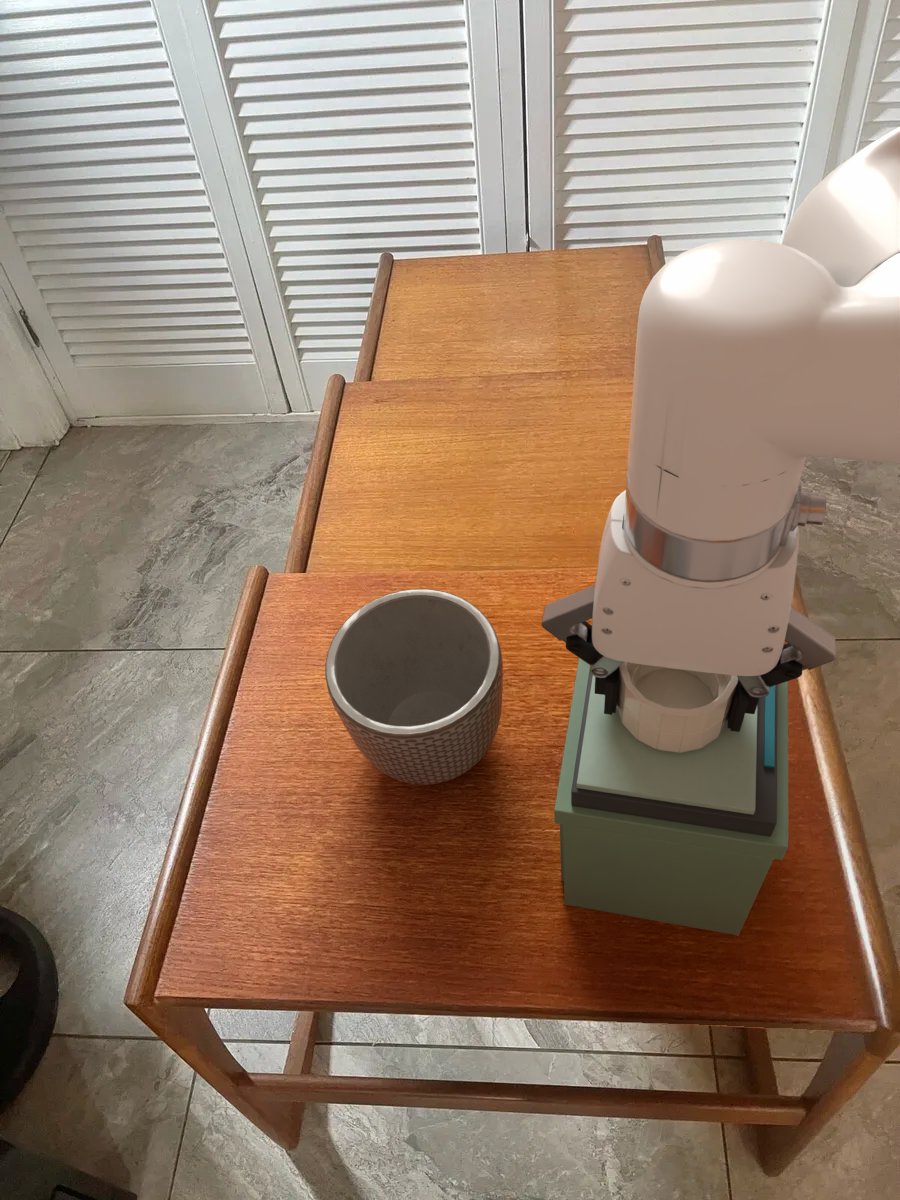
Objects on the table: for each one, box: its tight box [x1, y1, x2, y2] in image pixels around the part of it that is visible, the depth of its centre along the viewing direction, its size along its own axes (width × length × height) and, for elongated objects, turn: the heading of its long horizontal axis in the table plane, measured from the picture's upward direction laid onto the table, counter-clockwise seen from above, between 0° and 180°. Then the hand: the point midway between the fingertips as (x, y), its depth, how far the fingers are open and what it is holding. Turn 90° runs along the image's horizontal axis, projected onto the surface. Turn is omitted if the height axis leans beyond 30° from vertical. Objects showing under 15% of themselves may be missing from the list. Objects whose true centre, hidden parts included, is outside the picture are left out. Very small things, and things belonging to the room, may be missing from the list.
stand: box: [553, 657, 789, 936], centre depth 66 cm, size 14×14×17 cm
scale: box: [571, 670, 778, 837], centre depth 58 cm, size 12×13×3 cm
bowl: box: [617, 662, 738, 753], centre depth 55 cm, size 7×7×5 cm
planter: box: [324, 588, 504, 786], centre depth 75 cm, size 14×14×13 cm
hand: (672, 701), depth 57 cm, fingers closed on bowl, 6 cm apart
